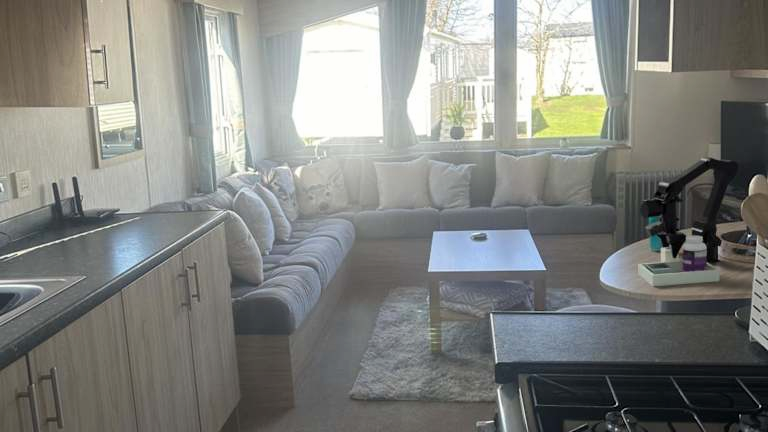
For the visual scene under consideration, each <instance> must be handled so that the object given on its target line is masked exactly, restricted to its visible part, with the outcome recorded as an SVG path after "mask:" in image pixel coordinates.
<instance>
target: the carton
mask: <svg viewBox="0 0 768 432" xmlns="http://www.w3.org/2000/svg"><path fill="white" fill-rule="evenodd" d="M669 261H680V252H679V253H678V255H677V257H676V258H673V257H672V251H671V246H669V247H665V248H661V251H660V262H669Z"/></svg>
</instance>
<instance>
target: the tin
mask: <svg viewBox="0 0 768 432" xmlns="http://www.w3.org/2000/svg"><path fill="white" fill-rule="evenodd" d="M646 269H648V270H649V271H650V272H651V273H653V274H654V275H655V274H667V273H672V272H671V267H670V266H668V265H667V264H665V263H658V264H646Z"/></svg>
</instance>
